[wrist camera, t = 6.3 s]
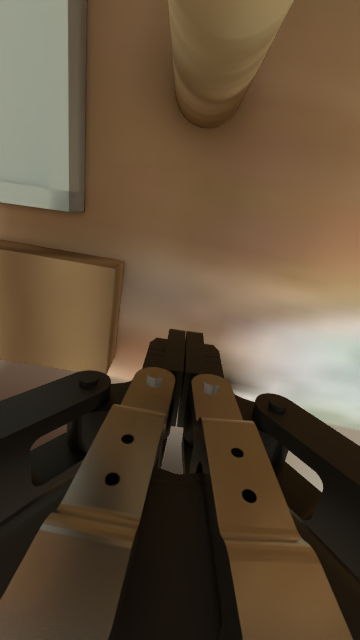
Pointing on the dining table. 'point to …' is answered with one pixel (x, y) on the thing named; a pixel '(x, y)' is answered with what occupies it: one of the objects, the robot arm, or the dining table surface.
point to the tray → (43, 103)
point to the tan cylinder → (219, 52)
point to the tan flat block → (58, 307)
